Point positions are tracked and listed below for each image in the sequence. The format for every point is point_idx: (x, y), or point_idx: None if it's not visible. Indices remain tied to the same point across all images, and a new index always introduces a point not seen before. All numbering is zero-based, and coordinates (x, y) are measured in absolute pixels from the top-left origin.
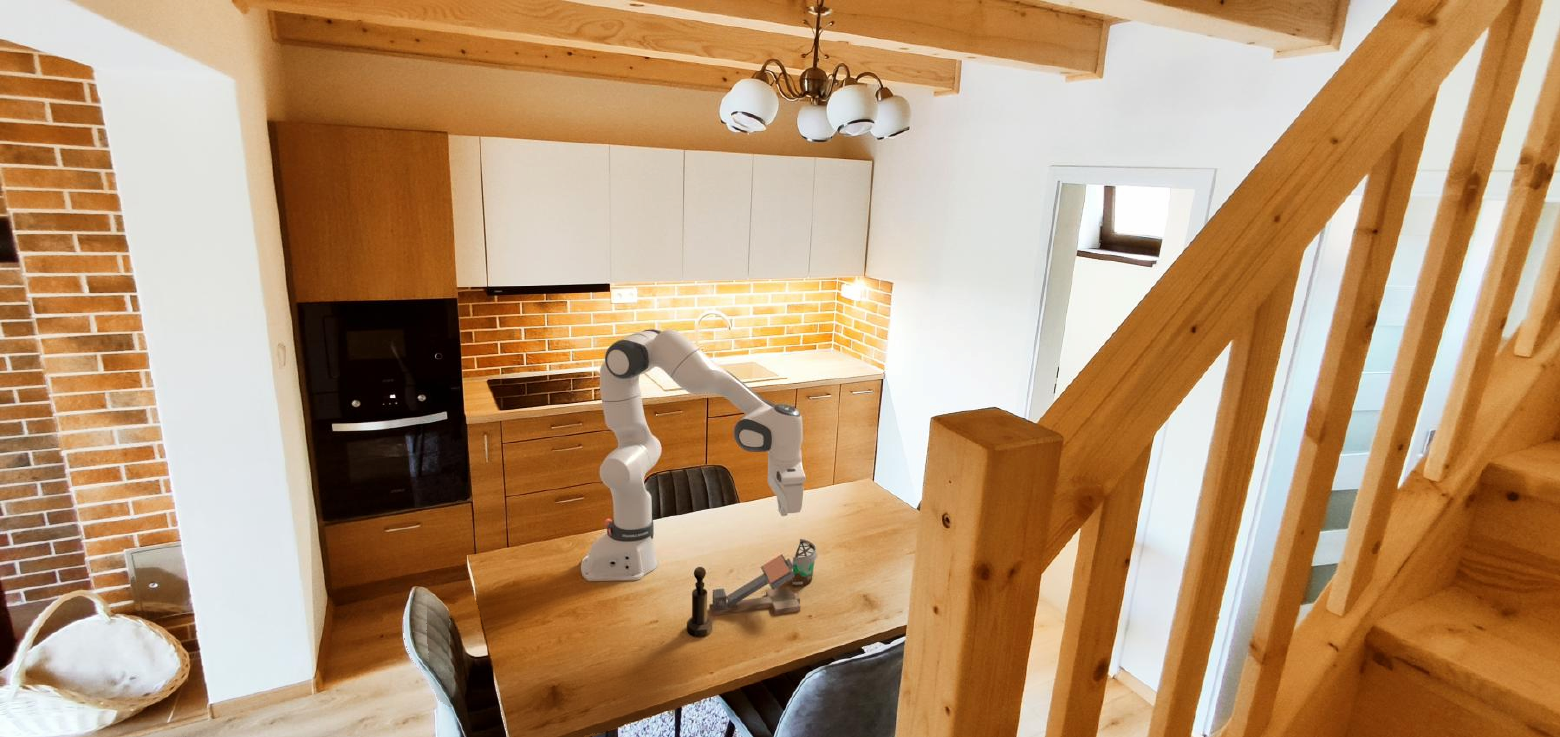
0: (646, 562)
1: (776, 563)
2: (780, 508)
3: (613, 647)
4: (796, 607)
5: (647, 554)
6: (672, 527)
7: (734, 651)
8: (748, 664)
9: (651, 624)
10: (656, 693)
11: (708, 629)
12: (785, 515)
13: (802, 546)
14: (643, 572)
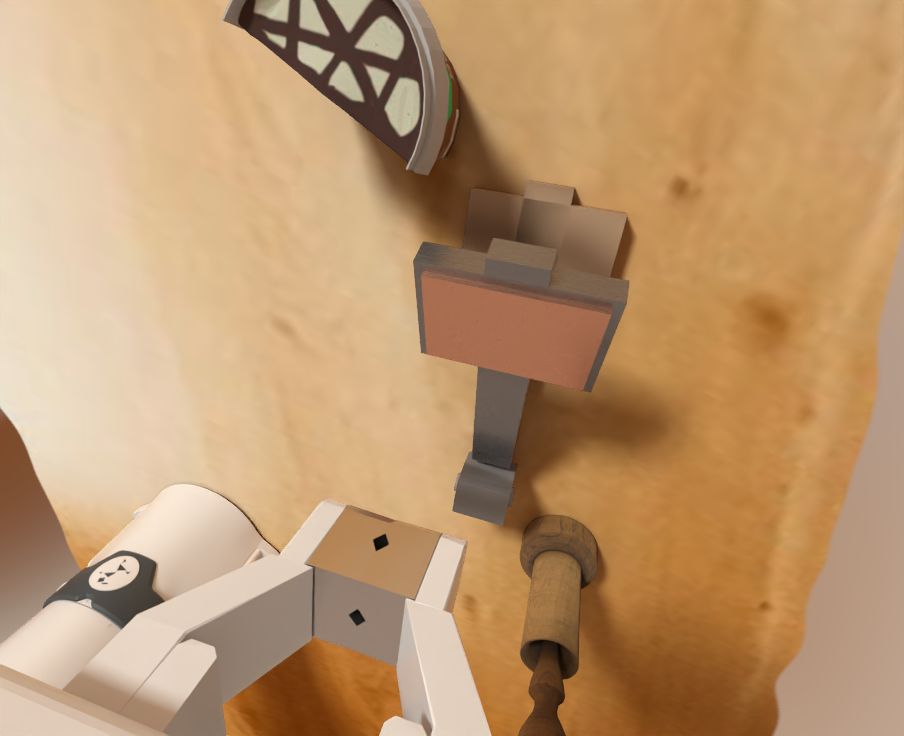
0: (232, 552)
1: (471, 318)
2: (372, 655)
3: (531, 698)
4: (621, 233)
5: (210, 561)
6: (28, 377)
7: (713, 519)
8: (804, 519)
9: (479, 612)
10: (752, 718)
11: (594, 551)
12: (464, 558)
13: (291, 36)
14: (258, 546)
